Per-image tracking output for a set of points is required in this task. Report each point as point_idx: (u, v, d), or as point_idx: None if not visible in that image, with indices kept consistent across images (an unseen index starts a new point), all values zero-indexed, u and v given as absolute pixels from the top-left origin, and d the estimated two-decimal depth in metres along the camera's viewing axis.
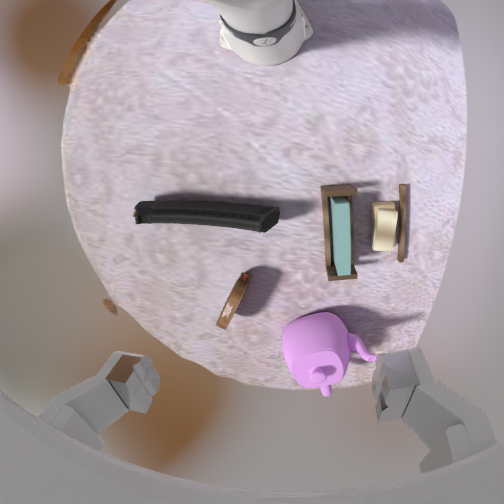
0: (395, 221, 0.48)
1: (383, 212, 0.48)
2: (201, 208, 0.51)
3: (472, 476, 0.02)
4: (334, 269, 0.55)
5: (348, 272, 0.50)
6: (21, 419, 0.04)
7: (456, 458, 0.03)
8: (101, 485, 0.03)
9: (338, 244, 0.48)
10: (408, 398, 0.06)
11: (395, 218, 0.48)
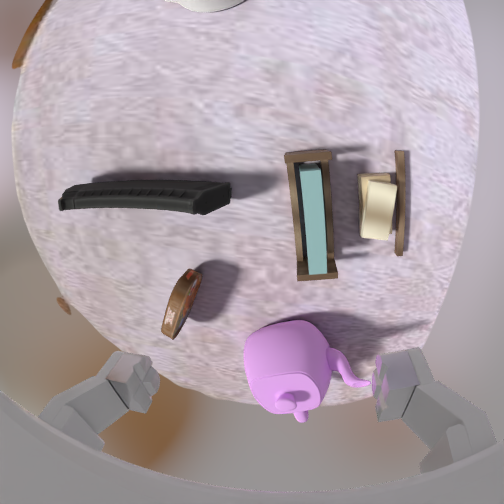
0: (393, 198, 0.34)
1: (376, 184, 0.34)
2: (130, 187, 0.37)
3: (472, 476, 0.02)
4: (307, 265, 0.41)
5: (323, 270, 0.36)
6: (21, 419, 0.04)
7: (456, 458, 0.03)
8: (101, 485, 0.03)
9: (307, 230, 0.34)
10: (408, 398, 0.06)
11: (393, 194, 0.34)
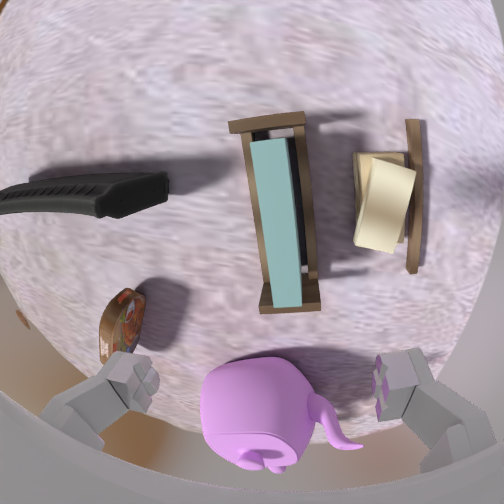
0: (408, 190, 0.21)
1: (385, 165, 0.21)
2: (48, 185, 0.24)
3: (472, 476, 0.02)
4: None
5: (296, 301, 0.23)
6: (21, 419, 0.04)
7: (456, 458, 0.03)
8: (101, 485, 0.03)
9: (266, 239, 0.21)
10: (408, 398, 0.06)
11: (409, 183, 0.21)
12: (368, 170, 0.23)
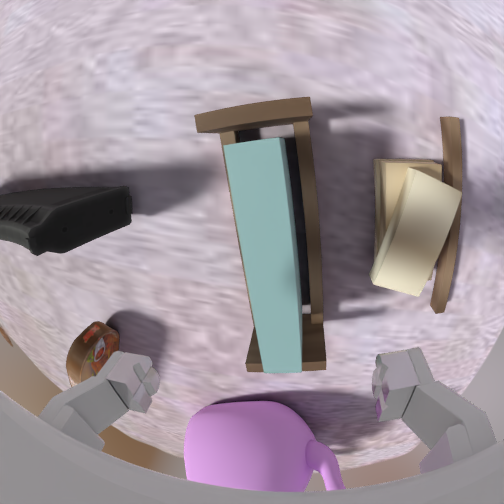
0: (450, 216, 0.15)
1: (426, 179, 0.14)
2: (0, 204, 0.17)
3: (472, 476, 0.02)
4: None
5: (294, 367, 0.16)
6: (21, 419, 0.04)
7: (456, 458, 0.03)
8: (101, 485, 0.03)
9: (252, 292, 0.14)
10: (408, 398, 0.06)
11: (452, 208, 0.14)
12: (395, 184, 0.16)
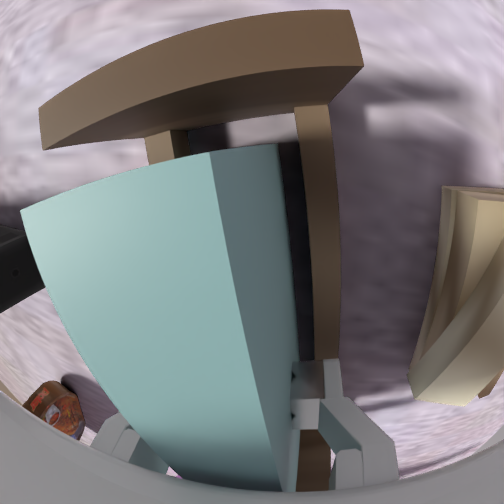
0: None
1: None
2: None
3: (472, 476, 0.02)
4: None
5: None
6: (21, 419, 0.04)
7: (340, 485, 0.04)
8: (101, 485, 0.03)
9: None
10: (317, 410, 0.06)
11: None
12: (486, 242, 0.07)
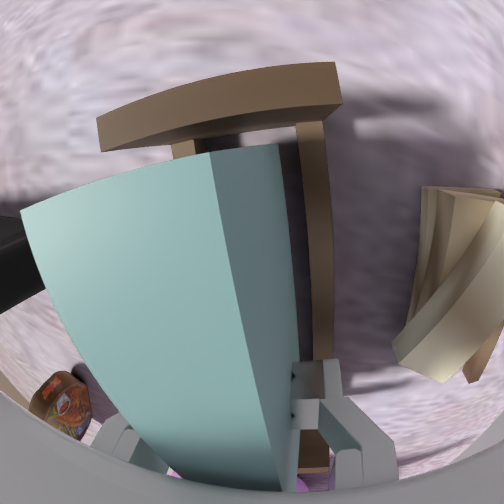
0: None
1: None
2: None
3: (472, 476, 0.02)
4: None
5: None
6: (21, 419, 0.04)
7: (340, 486, 0.04)
8: (101, 485, 0.03)
9: None
10: (316, 410, 0.06)
11: None
12: (462, 233, 0.09)
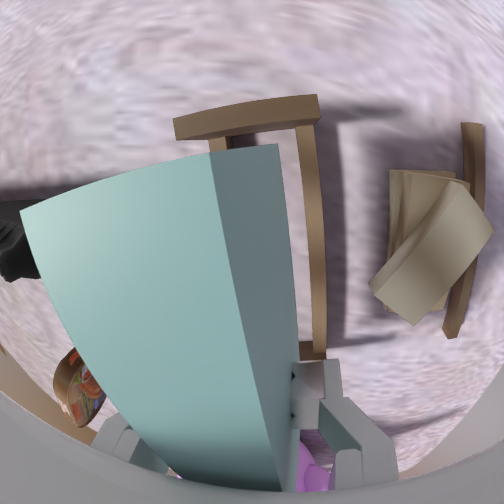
0: (476, 250, 0.12)
1: (468, 199, 0.11)
2: None
3: (472, 476, 0.02)
4: None
5: None
6: (21, 419, 0.04)
7: (339, 486, 0.04)
8: (101, 485, 0.03)
9: None
10: (316, 410, 0.06)
11: (481, 242, 0.12)
12: (420, 201, 0.13)
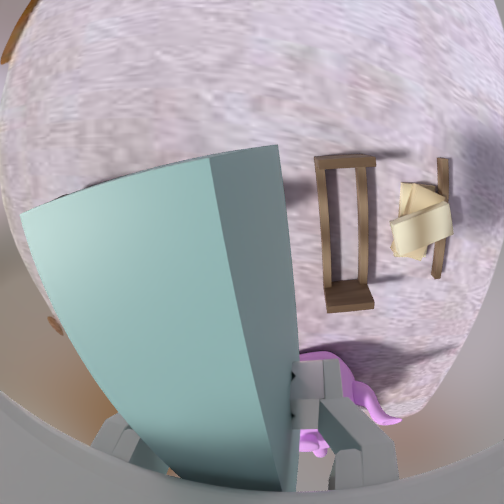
0: (441, 236, 0.28)
1: (448, 211, 0.26)
2: None
3: (472, 476, 0.02)
4: (337, 293, 0.34)
5: None
6: (21, 419, 0.04)
7: (340, 486, 0.04)
8: (101, 485, 0.03)
9: None
10: (316, 410, 0.06)
11: (445, 234, 0.28)
12: (419, 198, 0.28)
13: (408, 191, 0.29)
